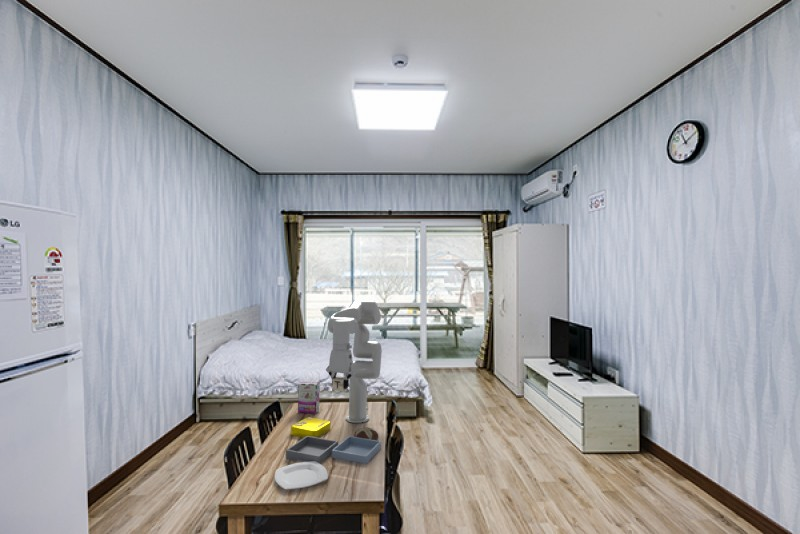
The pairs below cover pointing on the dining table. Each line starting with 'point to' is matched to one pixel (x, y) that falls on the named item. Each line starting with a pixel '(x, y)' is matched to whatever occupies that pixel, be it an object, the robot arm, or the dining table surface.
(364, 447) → the slate bin
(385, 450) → the dining table surface
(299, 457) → the charcoal bin
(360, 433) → the bread
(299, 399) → the candy bar box
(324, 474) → the plate
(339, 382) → the letter cube
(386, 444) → the dining table surface
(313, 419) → the element tile
